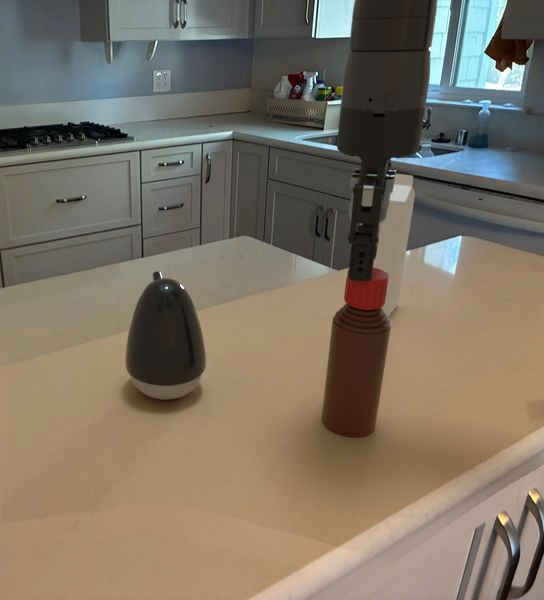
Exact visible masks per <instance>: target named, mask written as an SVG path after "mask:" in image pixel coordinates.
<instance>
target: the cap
mask: <svg viewBox="0 0 544 600" xmlns="http://www.w3.org/2000/svg"><path fill="white" fill-rule="evenodd" d="M348 273H349V269H348V270H347V275H346V278H345V287H344V295H343V300H344V302H345V304H348V305H350V306H352V307H355V308H358V309H365V310H374V309H379V308H381V307H383V306H384V304H385V299H386V292H387V285H388V273H387V272H385V271H383V270H381V269H377V268H373V271H372V277H371V280H370V281H368V282H362V281H354V280H350V279H349V277H348Z"/></svg>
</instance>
